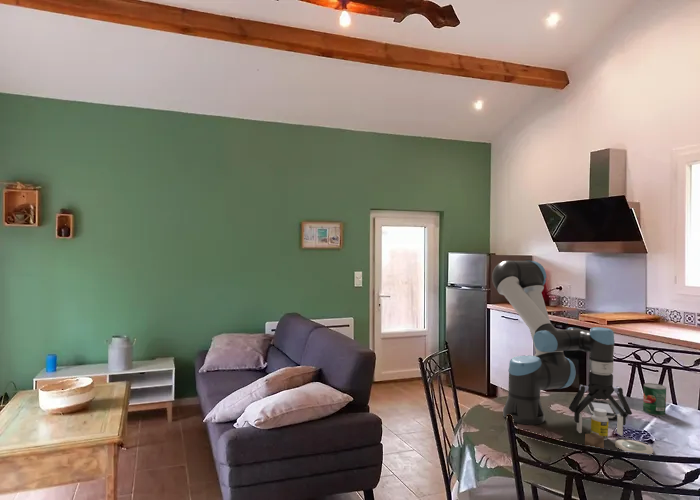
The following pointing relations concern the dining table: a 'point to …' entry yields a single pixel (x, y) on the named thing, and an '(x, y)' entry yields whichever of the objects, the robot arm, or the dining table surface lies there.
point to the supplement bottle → (600, 423)
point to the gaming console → (602, 405)
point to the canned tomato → (654, 399)
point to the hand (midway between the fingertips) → (599, 432)
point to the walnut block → (594, 440)
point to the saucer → (633, 446)
